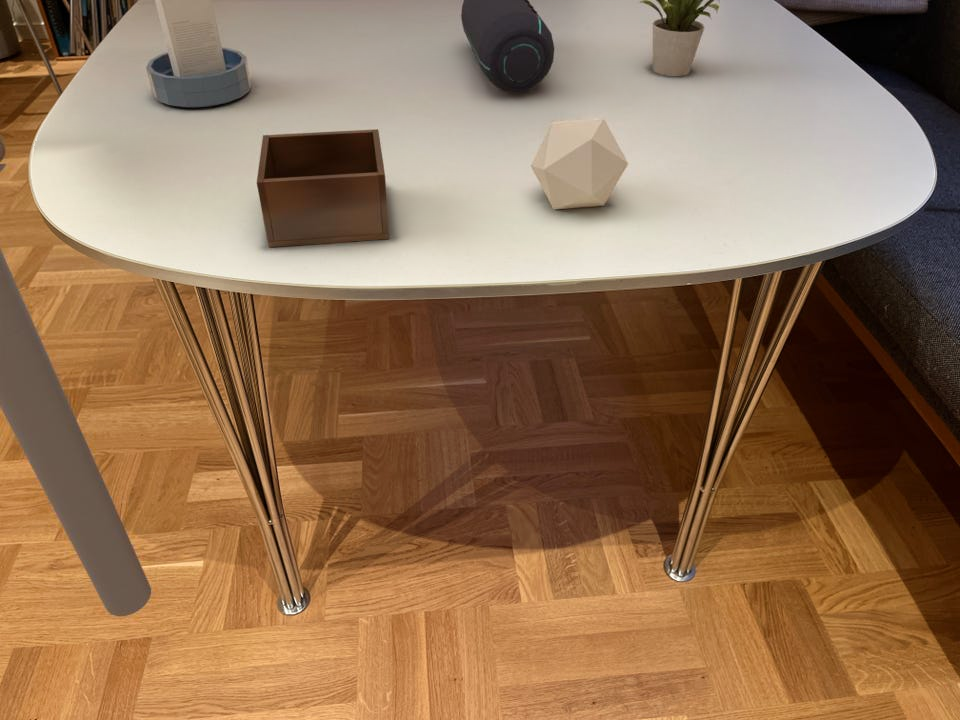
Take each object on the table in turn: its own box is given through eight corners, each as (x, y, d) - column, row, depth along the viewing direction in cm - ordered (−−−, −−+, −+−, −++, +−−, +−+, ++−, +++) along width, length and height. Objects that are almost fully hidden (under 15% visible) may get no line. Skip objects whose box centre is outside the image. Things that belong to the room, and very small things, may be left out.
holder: (268, 247, 71) (256, 182, 67) (273, 196, 79) (262, 134, 75) (389, 239, 73) (385, 174, 68) (382, 189, 80) (378, 129, 76)
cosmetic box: (220, 80, 103) (201, -16, 96) (230, 90, 101) (211, -8, 93) (175, 88, 101) (151, -10, 93) (184, 99, 98) (161, -2, 91)
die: (606, 185, 83) (558, 105, 80) (658, 176, 75) (607, 87, 72) (552, 232, 81) (500, 153, 78) (599, 229, 73) (544, 140, 70)
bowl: (147, 112, 96) (138, 80, 93) (162, 78, 105) (155, 48, 102) (247, 107, 97) (242, 75, 95) (254, 74, 107) (248, 44, 104)
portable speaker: (558, 100, 101) (564, 20, 94) (482, 103, 99) (484, 22, 93) (520, 40, 120) (524, -30, 113) (457, 43, 118) (457, -28, 112)
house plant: (749, 73, 110) (779, -55, 99) (696, 97, 102) (722, -39, 92) (666, 49, 117) (686, -72, 107) (610, 70, 110) (626, -58, 99)
